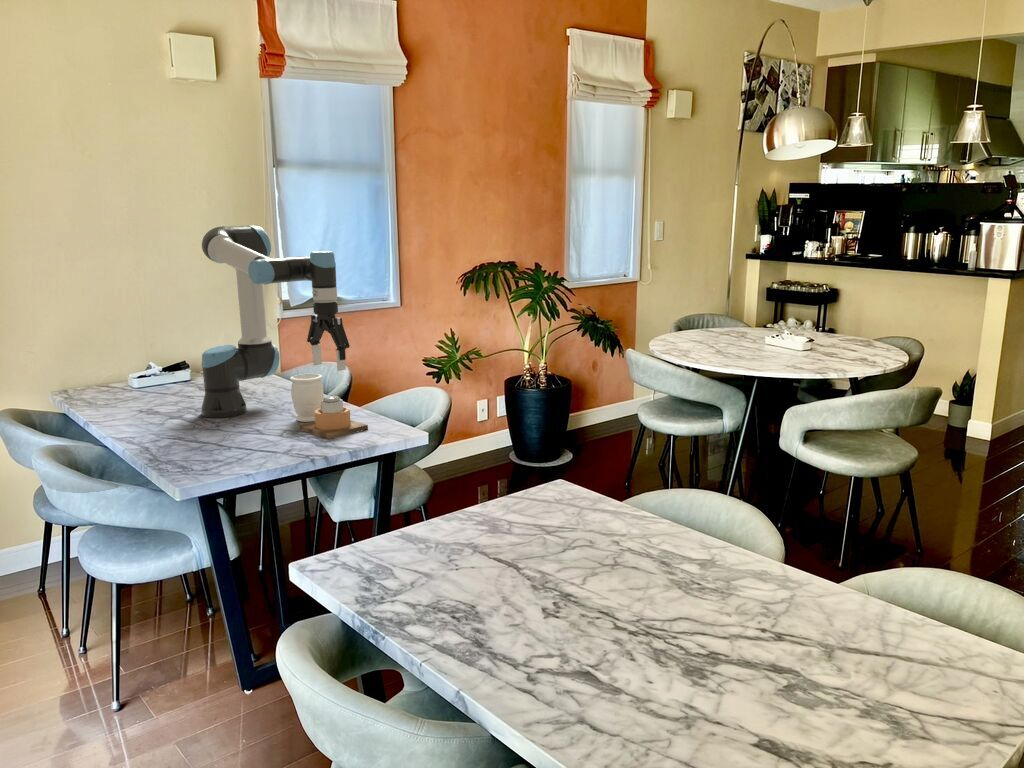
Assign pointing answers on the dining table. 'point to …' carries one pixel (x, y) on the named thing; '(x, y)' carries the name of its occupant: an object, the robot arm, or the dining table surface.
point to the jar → (306, 395)
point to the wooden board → (333, 432)
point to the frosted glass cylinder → (331, 405)
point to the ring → (332, 419)
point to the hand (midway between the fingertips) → (329, 367)
